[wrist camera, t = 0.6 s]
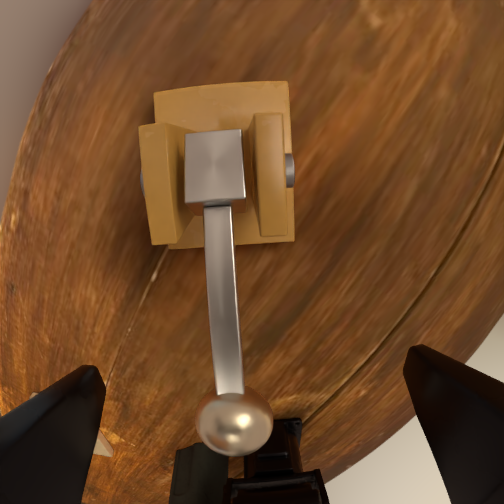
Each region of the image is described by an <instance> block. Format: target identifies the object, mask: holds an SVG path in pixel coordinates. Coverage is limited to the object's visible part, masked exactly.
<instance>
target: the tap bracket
mask: <svg viewBox="0 0 504 504" xmlns="http://www.w3.org/2000/svg"><path fill="white" fill-rule="evenodd" d="M154 112H155V123H154V124H148V125H142V126H139V127H138V131H139V144H140V156H141V166H142V170H141V175H140V183H141V189H142V193H143V195H144V197H145V201H146V208H147V215H148V222H149V229H150V235H151V242H152V245H164V244H168V246H169V249H170V250H171V249H185V248H200V247H204V226H203V216H196V215H195V214H194V213H193V212H192V211H191V210H190V208H189V207H188V206H187V205H186V204H185V202H184V136H185V134H189V133H198V132H208V131H219V130H232V129H241V130H242V137H243V153H244V168H245V184H246V201H247V212H246V213H234V214H233V217H234V234H235V245H244V244H260V243H275V242H291V241H294V192H293V186H294V182H295V166H294V159H293V156H292V140H291V121H290V104H289V89H288V81H256V82H237V83H223V84H212V85H202V86H194V87H186V88H179V89H172V90H166V91H159V92H154Z"/></svg>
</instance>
